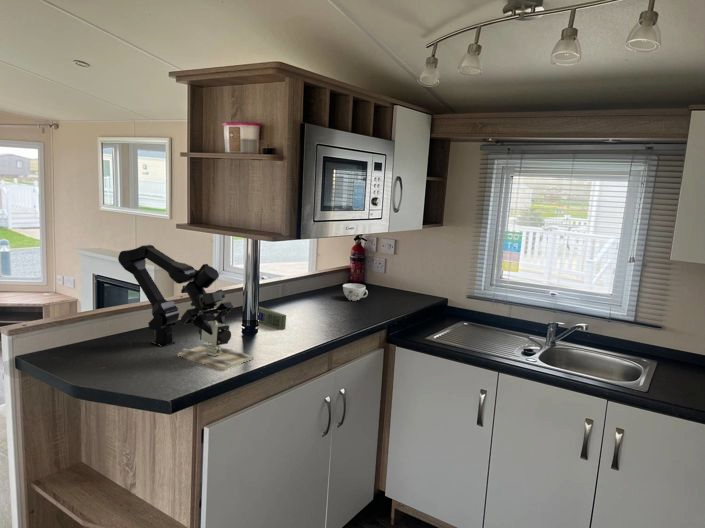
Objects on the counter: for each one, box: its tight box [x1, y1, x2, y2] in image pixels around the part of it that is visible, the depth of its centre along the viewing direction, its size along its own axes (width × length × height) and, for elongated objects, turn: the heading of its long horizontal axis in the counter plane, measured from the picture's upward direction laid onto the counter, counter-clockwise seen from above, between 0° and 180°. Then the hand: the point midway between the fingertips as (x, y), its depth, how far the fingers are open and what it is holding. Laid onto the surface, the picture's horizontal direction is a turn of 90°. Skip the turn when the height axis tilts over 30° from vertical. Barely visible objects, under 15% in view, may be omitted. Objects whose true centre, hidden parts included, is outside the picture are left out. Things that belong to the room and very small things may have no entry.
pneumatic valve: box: [198, 320, 232, 357], centre depth 174 cm, size 6×12×12 cm, turn 56°
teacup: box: [342, 282, 369, 302], centre depth 277 cm, size 15×12×8 cm
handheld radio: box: [258, 306, 287, 331], centre depth 222 cm, size 7×3×25 cm
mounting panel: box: [177, 342, 255, 371], centre depth 176 cm, size 22×14×2 cm, turn 59°
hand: (218, 333), depth 174 cm, fingers closed on pneumatic valve, 5 cm apart
